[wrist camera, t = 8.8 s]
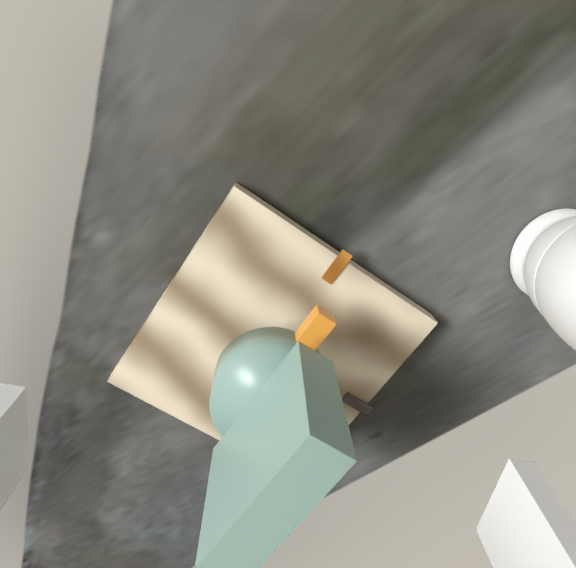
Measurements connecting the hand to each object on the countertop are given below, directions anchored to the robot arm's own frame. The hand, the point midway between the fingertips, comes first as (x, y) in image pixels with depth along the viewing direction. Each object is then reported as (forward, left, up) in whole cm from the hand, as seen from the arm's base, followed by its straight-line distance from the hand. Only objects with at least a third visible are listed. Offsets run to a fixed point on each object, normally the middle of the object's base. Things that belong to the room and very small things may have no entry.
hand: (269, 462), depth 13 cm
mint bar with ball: (+9, +7, -23) cm, 26 cm away
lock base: (+10, +7, -29) cm, 31 cm away
